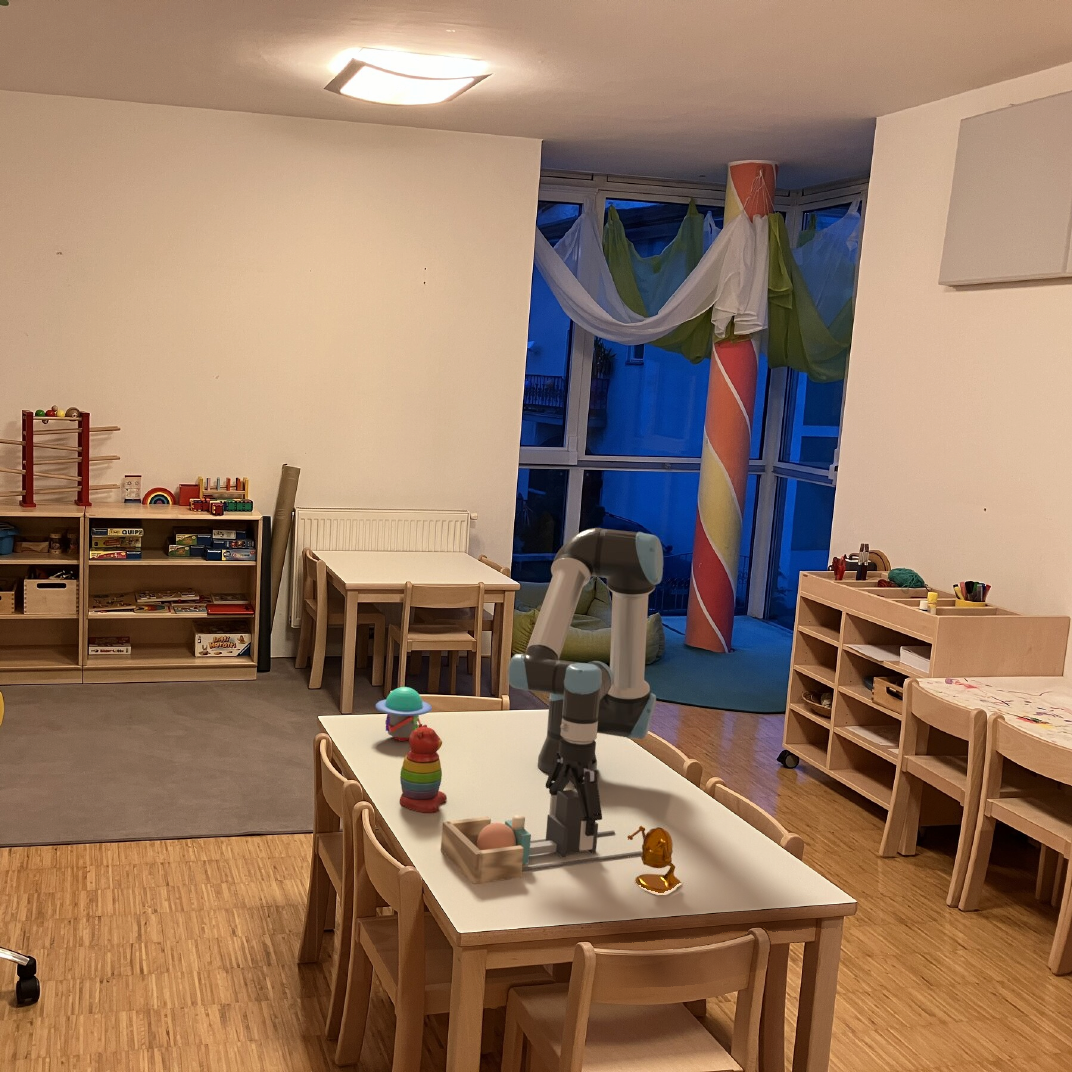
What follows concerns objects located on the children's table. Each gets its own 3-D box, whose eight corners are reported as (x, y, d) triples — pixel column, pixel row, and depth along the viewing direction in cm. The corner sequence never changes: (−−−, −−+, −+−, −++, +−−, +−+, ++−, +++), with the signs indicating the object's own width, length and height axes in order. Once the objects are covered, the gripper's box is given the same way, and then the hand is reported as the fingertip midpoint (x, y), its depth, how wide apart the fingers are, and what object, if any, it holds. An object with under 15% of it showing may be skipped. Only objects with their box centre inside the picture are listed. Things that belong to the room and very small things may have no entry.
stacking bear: (435, 814, 256) (440, 737, 254) (392, 808, 258) (396, 731, 256) (448, 798, 267) (453, 724, 264) (407, 792, 269) (411, 718, 266)
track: (612, 832, 254) (613, 830, 254) (642, 854, 243) (643, 852, 243) (493, 847, 240) (493, 845, 240) (519, 872, 230) (519, 869, 229)
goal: (485, 843, 242) (487, 816, 241) (521, 877, 227) (523, 848, 226) (440, 849, 237) (442, 821, 237) (473, 883, 222) (476, 854, 222)
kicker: (583, 838, 248) (588, 784, 246) (602, 852, 241) (607, 797, 239) (501, 848, 239) (505, 793, 237) (518, 864, 232) (523, 807, 230)
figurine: (621, 880, 229) (627, 823, 228) (666, 873, 234) (671, 816, 233) (646, 899, 222) (651, 839, 220) (691, 890, 227) (697, 832, 225)
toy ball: (520, 859, 236) (523, 822, 235) (505, 872, 229) (508, 834, 228) (485, 850, 239) (488, 814, 238) (469, 863, 232) (471, 826, 231)
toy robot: (426, 749, 300) (430, 697, 298) (369, 745, 300) (372, 692, 298) (432, 732, 315) (436, 682, 313) (378, 728, 315) (381, 678, 313)
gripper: (534, 722, 248) (527, 816, 250) (592, 759, 226) (583, 862, 228) (565, 720, 251) (557, 813, 254) (624, 756, 229) (615, 858, 232)
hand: (569, 836), depth 241 cm, fingers open, 13 cm apart
